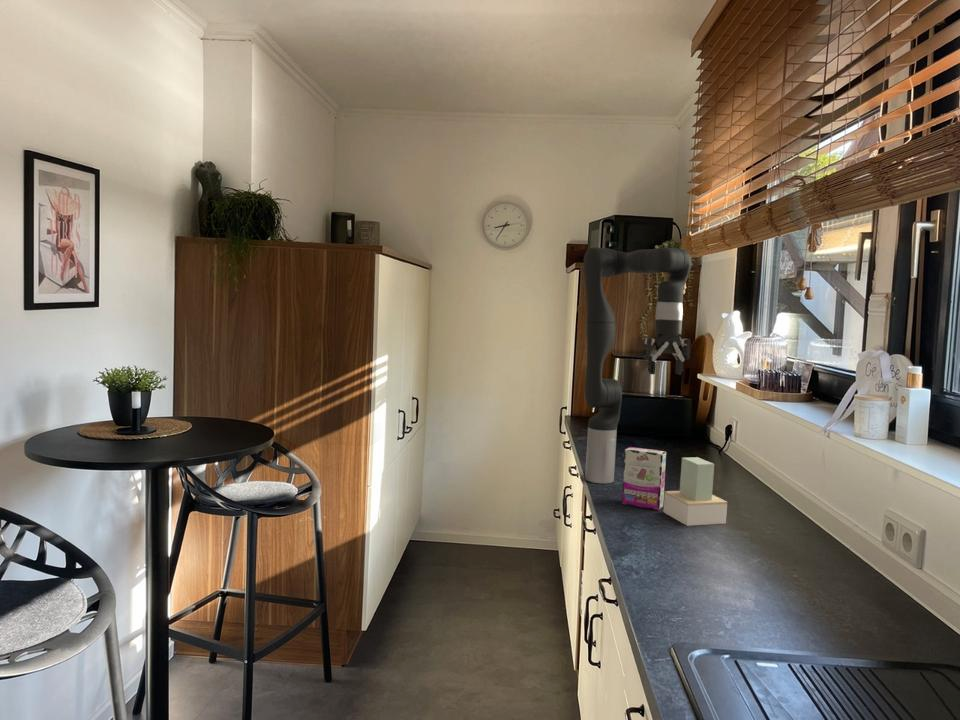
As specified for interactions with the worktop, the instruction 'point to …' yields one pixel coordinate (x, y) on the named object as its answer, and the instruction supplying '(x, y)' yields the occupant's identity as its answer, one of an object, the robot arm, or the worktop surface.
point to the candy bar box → (644, 478)
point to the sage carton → (697, 478)
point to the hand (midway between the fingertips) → (665, 374)
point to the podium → (695, 509)
